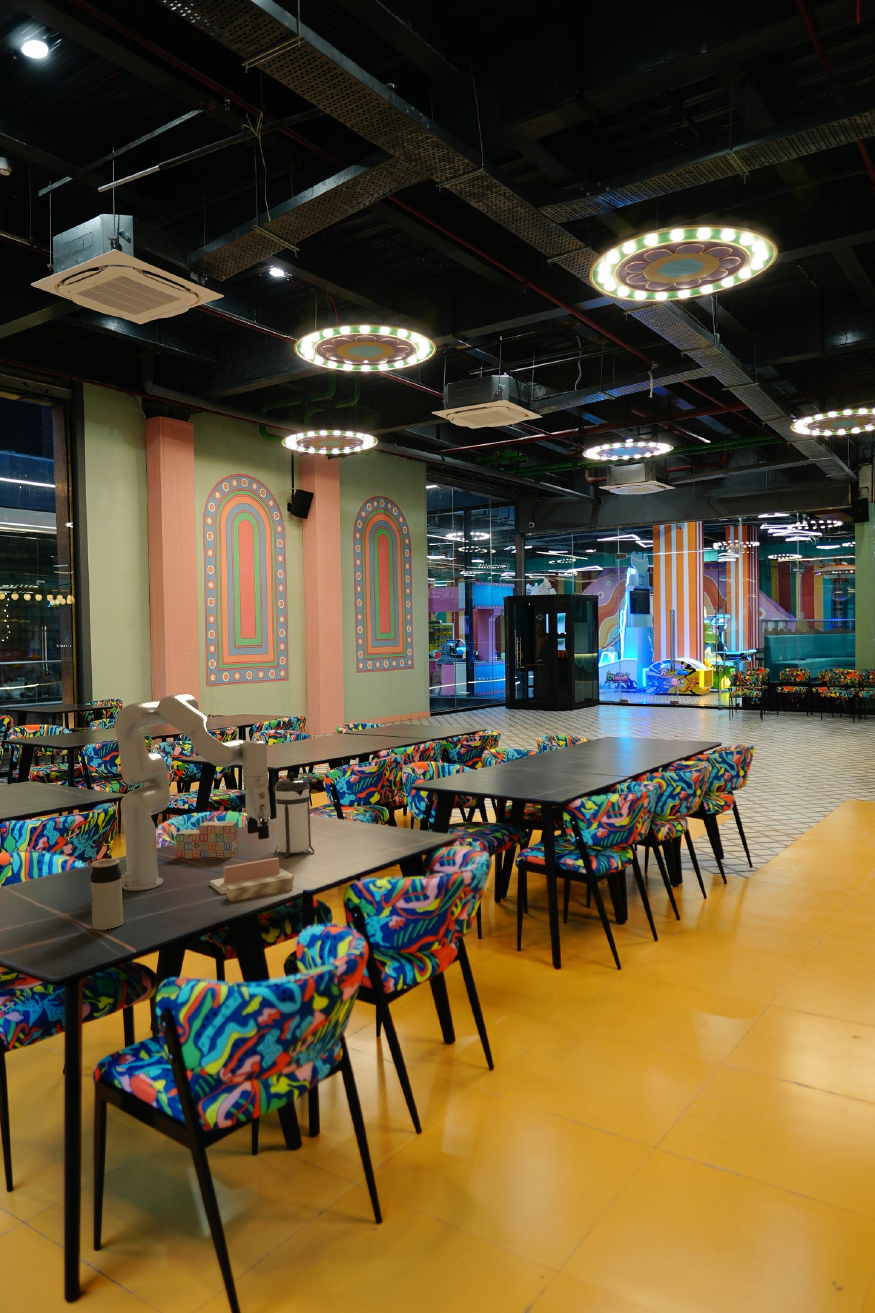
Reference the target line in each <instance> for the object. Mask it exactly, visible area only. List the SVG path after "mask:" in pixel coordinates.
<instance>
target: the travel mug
mask: <svg viewBox="0 0 875 1313" xmlns="http://www.w3.org/2000/svg"><path fill="white" fill-rule="evenodd" d="M119 863H121V862H120V859H119V858H105V859H104V858H102V859H98V860H95V861H93V862H91V863H90V867H91V868H92V872H91V874H90V876H89V878H90V894H91V896H90V897H91V898H90V899H91V915H92V916H91V918H92V919H91V921H92V928H93V929H94V930H98V931H108V930H107V929H109V930H112V929H111V928H113V929H116V928H115V927H117V928H119V927H121V926H122V925H123V924H124V907H123V888H122V884H123V883H121V877H122V871H121V869H120V868H119V865H120V864H119ZM118 926H119V927H118Z"/></svg>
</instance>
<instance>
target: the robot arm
mask: <svg viewBox="0 0 875 1313" xmlns="http://www.w3.org/2000/svg"><path fill="white" fill-rule="evenodd" d="M114 719H115V720H114V730H115V735H116V740H117V745H118V754H119V761H120V762H119V763H120V770H121V772H120V773H121V777H122V779H123V782H124V783H125V784H127V785H130V786H136V785H141V784H143V787H139V788H135V789H132V790H130V791H128V792H127V793H125V794H124V796H123V797H122V798H121V801H120V812H121V815H122V819H123V826H124V838H125V858H126V860H125V861H126V863H125V864H126V871H125V872H124V874H121V883H122V890H125V891H133V892H134V891H145V890H151V889H154V888H157V887H159V886H161V885H163V883H164V878H162V877H160V876H159V869H158V868H159V867H158V865H159V864H158V848H157V846H158V845H157V843H158V842H157V829H156V825H155V823H154V821H153V820H154V819H152V816H153V815H155V814H159V813H161V812H163V811H165V810H166V809H167V808H168V807H169V806H170V800H171V790H170V780H169V774H168V773H169V772H168V771H169V770H168V767H167V763H166V760H165V759H164V757H163V756H162V755H160V754H159V753H158V752H153V751H152V752H151V751H149V752H148V749H147V741H146V738H145V735H144V734H143V733H142V732H141V730H142V729H145V728H152V727H153V728H154V727H158V726H163V725H167V724H169V725H171V727H173V728H174V729H176V730H177V731H178V732H180V733H182V735H185V736H186V737H187V738H188V739H190V740H189V741H190V743H191V745H192V748H194V750H195V752H196V753H197V754H198V755H199V756H200V757H202V758H203V759H204V760H206V761H207V762H208V763H210V764H212V765H213V766H215V767H218V768H227V767H231V766H235V765H238V764H242V783H243V787H244V788H245V812H246V813H245V814H246V815H247V816H246V820H247V822H246V823H247V824H246V825H247V828H246V829H247V834H249V835H250V834H258V835H257V836H258V838H257V839H258V840H265V839H269V838H270V830H269V825H270V824H269V822H270V821H269V820H270V819H269V818H270V817H271V815H272V814H271V804H270V792H269V787H268V786H269V777H268V776H269V773H268V772H269V770H268V751H267V750H268V748H267V743H266V742H265V741H263V740H244V739H233V740H227V741H224V742H222V741H220V740H218V739H217V738H216V737H214V736H213V735H211V734H210V733H209V731H208V730H207V729H208V727H209V724H210V720H209V718H208V717H207V716H206V715H205V714H203V712H200V711H199V703H198V701H197V698H195V696H193V695H191V694H189V693H180V694H179V693H178V694H177V693H176V694H172V695H170V694H169V695H167V696H164V697H163V698H162V699H156V700H149V701H140V702H133V703H131V704H128V705H125V706H124V707H122V708H121V709H120V710H119V712H118V713H117V714H116V717H115V718H114Z"/></svg>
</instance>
